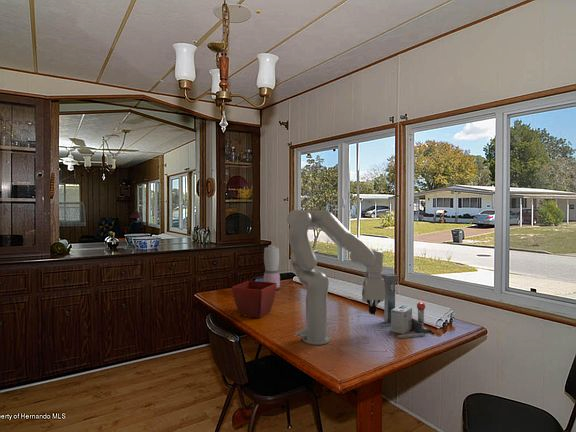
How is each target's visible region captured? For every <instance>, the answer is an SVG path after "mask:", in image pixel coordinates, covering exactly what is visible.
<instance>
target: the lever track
mask: <svg viewBox="0 0 576 432" xmlns="http://www.w3.org/2000/svg"><path fill="white" fill-rule="evenodd" d="M424 327H425V328H427V327H426V326H424ZM425 332H430V333H431V334H432V333H433V335H435V332H434V331H432V329H431V328H430V329H429V328H427V330H422V333H424V336H425V334H426V333H425Z"/></svg>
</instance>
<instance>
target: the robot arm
mask: <svg viewBox="0 0 576 432" xmlns="http://www.w3.org/2000/svg"><path fill="white" fill-rule="evenodd" d="M286 222H287V225H289V228H288V229H289V230H288V234H287V237H288V242H289V246H290V248H291V251H292V252H291V255H290V262H291V265H292V268H293V269H294V271H295V273H296V276H297V278H298V280H299V282H300V284H301V285H302V286H304V287H305V288H307V292H306V297H305V328H304V329H303V330H302V331H295V336H296V337H299V338H302V341H303V342H305V343H306V344H308V345H314V346H315V345H316V346H318V345H319V346H320V345H327V344H329V343H330V342H331V336H330V335H329V334H328V320H327V319H328V292H329V286H330V284H329V278H328V277H327V274H325V273H324V272H322V271H320V270H318V269H316V267H317V265H318V259H317V256H316V253H315V252H314V249H313V247H312V245H311V243H310V240H309V237H308V232H309V229H314V228H315V229H320V230H321V231H322V232H323V233H324V234H325V235H326V236H327V237H328V238H330V240H331V241H332V242H333V244H335V245H337V246H338V247H340V248H342V249H344V250H346V251H348V252H349V259H350V261H351V262H352V263H354V264H355V265H359V266H362V267H363V268H364V267H365V269H366V271H365V272H363V276H364V279H363V283H362V290H361V301H362V302H364V303H367V305H368V313H369V314H370V315H376V312H377V306H378V304H379V303H382V302H384V299H385V285H384V279H382V274H383V266H384V265H383V262H384V253H383V251H382V250H381V249H380V250H379V249H370V247H369V246H368V245H367V244H366V243H365V242H364V241H362V240H361V239H360V238H359V237H357V236H356V235H355V234H353V233H352V232H351V231H349V230H348V229H347V228H346V227H345V226H344V224H342V223H341V221H339V219H338V218H337V217H336V216H335V215H334V214H333V213H332V212H331V211H329V210H324V209H323V210H321V209H317V210H308V209H307V210H305V209H295V210H291V211H290V212H289V213H288V214H287V216H286Z"/></svg>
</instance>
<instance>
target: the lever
mask: <svg viewBox="0 0 576 432" xmlns="http://www.w3.org/2000/svg"><path fill="white" fill-rule="evenodd" d="M416 309H417V321H418V322H420V323H422V330H427V327H426V326H425V309H426V304H425V303H424V302H423V301H422V302H421V301H420V302H417V304H416ZM425 327H426V328H425Z"/></svg>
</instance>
